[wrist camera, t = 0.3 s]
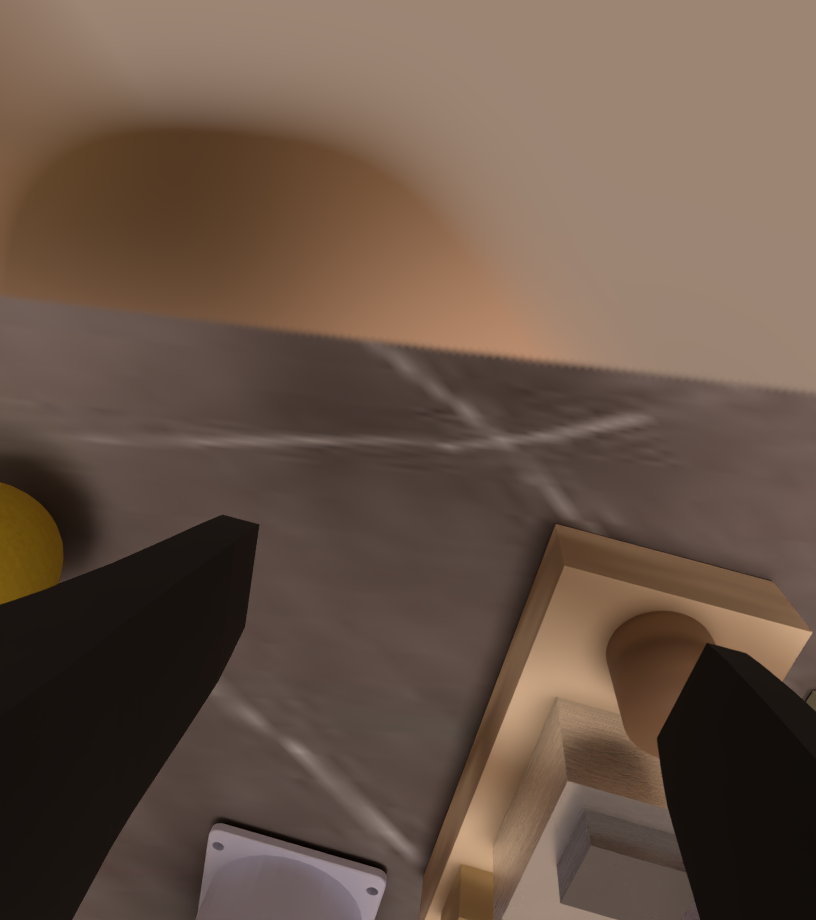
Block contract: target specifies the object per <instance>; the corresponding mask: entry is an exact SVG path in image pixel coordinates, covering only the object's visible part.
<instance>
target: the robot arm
mask: <svg viewBox="0 0 816 920" xmlns="http://www.w3.org/2000/svg"><path fill="white" fill-rule="evenodd" d="M258 530H259V524H256V523H252V522H248V521H244V520H240V519H237V518H233V517H229V516H225V515H221V516H218V517H216V518H213V519H211V520H208V521H206V522H204V523H202V524H199V525H197V526H195V527H193V528H190V529H188V530H186V531H184V532H182V533H179V534H177V535H175V536H173V537H171V538H168V539H166V540H164V541H162V542H159V543H157V544H155V545H153V546H150V547H148V548H146V549H143V550H141V551H139V552H137V553H134V554H132V555H130V556H128V557H125V558H123V559H121V560H118V561H116V562H114V563H111V564H109V565H106V566H104V567H101V568H98V569H96V570H93V571H91V572H88V573H86V574H83V575H80V576H78V577H75V578H73V579H70V580H67V581H65V582H62V583H60V584H57V585H55V586H52V587H49V588H47V589H44V590H42V591H39V592H36V593H33V594H30V595H27V596H25V597H22V598H19V599H16V600H13V601H9V602H6V603H3V604H0V920H72V919H73V917H74V915H75V913H76V911H77V910H78V908H79V906H80V904H81V902H82V900H83V898H84V897H85V895H86V893H87V891H88V889H89V887H90V885H91V884H92V882H93V880H94V878H95V876H96V874H97V872H98V871H99V869H100V867H101V865H102V863H103V861H104V860H105V858H106V856H107V854H108V852H109V850H110V848H111V847H112V845H113V843H114V842H115V840H116V838H117V837H118V835H119V833H120V832H121V830H122V828H123V827H124V825H125V823H126V822H127V820H128V819H129V817H130V815H131V814H132V812H133V810H134V809H135V807H136V806H137V804H138V803H139V801H140V800H141V798H142V797H143V795H144V794H145V792H146V791H147V789H148V788H149V786H150V785H151V783H152V782H153V780H154V779H155V777H156V776H157V774H158V773H159V771H160V769H161V768H162V766H163V765H164V763H165V762H166V760H167V759H168V757H169V756H170V754H171V753H172V751H173V750H174V748H175V747H176V745H177V744H178V742H179V741H180V739H181V738H182V736H183V735H184V733H185V732H186V730H187V729H188V727H189V726H190V724H191V722H192V721H193V719H194V718H195V716H196V715H197V713H198V712H199V710H200V709H201V707H202V706H203V704H204V702H205V701H206V699H207V698H208V696H209V695H210V693H211V692H212V690H213V688H214V687H215V685H216V684H217V682H218V680H219V678H220V676H221V674H222V673H223V671H224V669H225V667H226V665H227V663H228V661H229V659H230V657H231V655H232V653H233V651H234V648H235V646H236V644H237V642H238V640H239V638H240V636H241V634H242V632H243V630H244V628H245V622H246V615H247V608H248V601H249V594H250V587H251V580H252V573H253V565H254V558H255V551H256V544H257V537H258ZM657 745H658V752H659V759H660V767H661V774H662V780H663V785H664V791H665V797H666V802H667V807H668V811H669V814H670V818H671V822H672V825H673V829H674V832H675V835H676V839H677V842H678V846H679V849H680V853H681V856H682V860H683V863H684V867H685V870H686V873H687V877H688V880H689V883H690V887H691V890H692V893H693V897H694V900H695V903H696V907H697V910H698V913H699V917H700V920H816V711H815V710H814V709H813V708H812V707H811V706H809V705H808V704H807V703H806V702H805V701H804V700H803V699H802V698H800V697H799V696H798V695H797V694H796V693H795V692H794V691H792V690H791V689H790V688H789V687H788V686H787V685H786V684H784V683H783V682H782V681H781V680H780V679H779V678H777V677H776V676H775V675H774V674H773V673H771V672H770V671H769V670H768V669H767V668H765V667H764V666H763V665H762V664H760V663H759V662H758V661H756V660H755V659H754V658H752V657H751V656H750V655H748V654H747V653H744V652H740V651H737V650H733V649H729V648H725V647H722V646H718V645H714V644H710V643H706V645H705V647H704V649H703V651H702V653H701V655H700V657H699V658H698V660H697V662H696V664H695V666H694V668H693V670H692V672H691V674H690V676H689V678H688V680H687V681H686V683H685V685H684V687H683V689H682V691H681V693H680V695H679V697H678V699H677V701H676V702H675V704H674V706H673V708H672V710H671V712H670V714H669V716H668V718H667V720H666V722H665V723H664V725H663V727H662V729H661V731H660V733H659V735H658V737H657ZM386 882H387V875H386V873H385V872H384V871H382V870H381V869H378V868H375V867H372V866H368V865H365V864H361V863H358V862H354V861H351V860H348V859H344V858H341V857H337V856H334V855H330V854H327V853H323V852H320V851H317V850H313V849H310V848H306V847H303V846H299V845H296V844H293V843H289V842H286V841H282V840H279V839H275V838H272V837H268V836H265V835H262V834H258V833H255V832H251V831H248V830H244V829H241V828H238V827H234V826H231V825H227V824H223V823H217V824H215V825H213V827H212V829H211V831H210V833H209V837H208V844H207V851H206V858H205V865H204V872H203V879H202V886H201V893H200V900H199V907H198V914H197V916H196V919H195V920H375V917H376V914H377V911H378V908H379V905H380V902H381V899H382V896H383V893H384V890H385V887H386Z"/></svg>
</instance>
